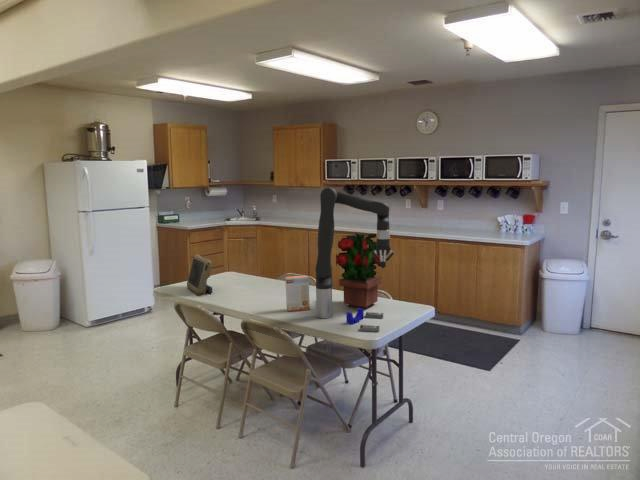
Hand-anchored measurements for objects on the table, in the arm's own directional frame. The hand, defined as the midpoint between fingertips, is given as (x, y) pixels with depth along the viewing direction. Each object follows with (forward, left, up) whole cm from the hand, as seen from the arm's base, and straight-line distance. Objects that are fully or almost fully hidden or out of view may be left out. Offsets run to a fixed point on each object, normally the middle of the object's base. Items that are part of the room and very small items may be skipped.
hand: (383, 267), depth 275 cm
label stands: (-5, -13, -29) cm, 32 cm away
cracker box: (-53, +7, -29) cm, 61 cm away
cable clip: (-14, -10, -29) cm, 34 cm away
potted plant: (-16, +22, -29) cm, 40 cm away
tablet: (-137, +44, -29) cm, 147 cm away
